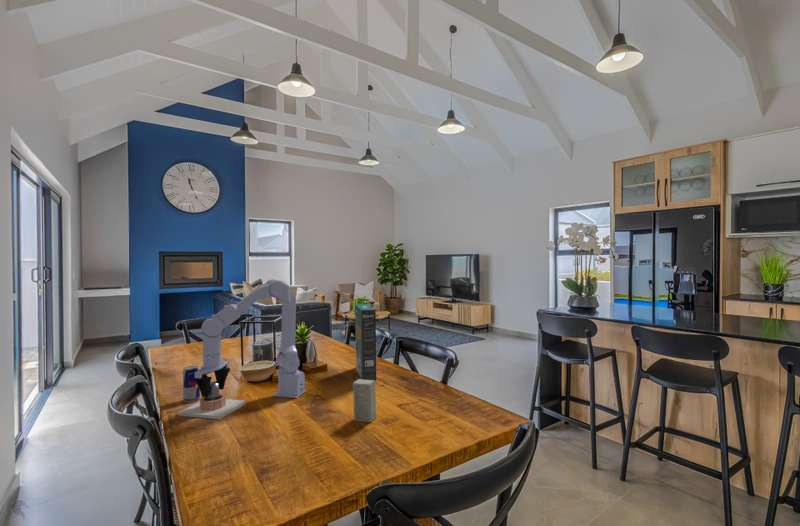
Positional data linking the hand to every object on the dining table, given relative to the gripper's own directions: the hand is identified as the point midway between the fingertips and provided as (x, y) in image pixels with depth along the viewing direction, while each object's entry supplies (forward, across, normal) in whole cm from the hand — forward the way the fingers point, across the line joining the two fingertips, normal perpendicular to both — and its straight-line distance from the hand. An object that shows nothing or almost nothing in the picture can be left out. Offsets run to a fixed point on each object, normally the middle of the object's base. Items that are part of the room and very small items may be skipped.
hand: (213, 392), depth 135 cm
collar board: (+6, 0, 0) cm, 6 cm away
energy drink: (+6, -6, -14) cm, 16 cm away
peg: (+5, 0, 0) cm, 5 cm away
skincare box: (+6, -3, +54) cm, 54 cm away
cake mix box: (+6, -50, +39) cm, 63 cm away
